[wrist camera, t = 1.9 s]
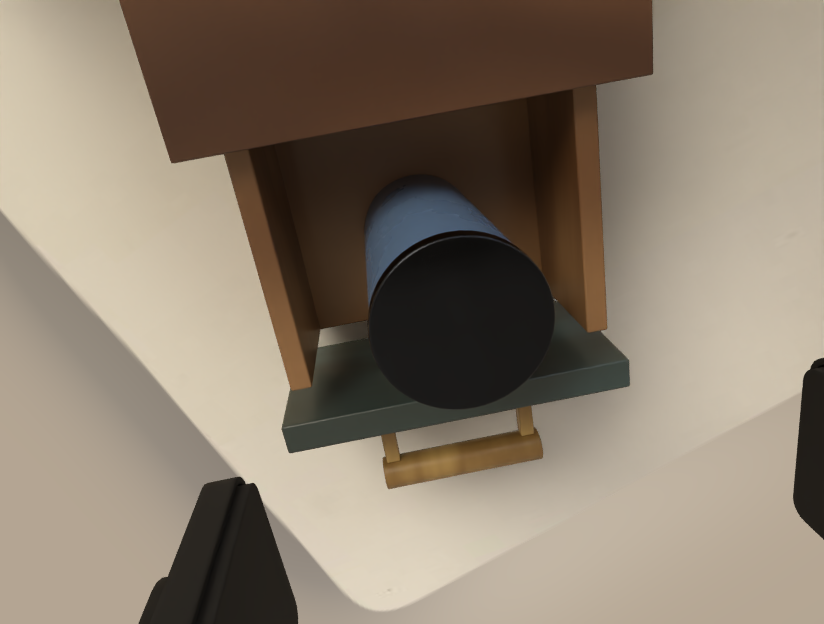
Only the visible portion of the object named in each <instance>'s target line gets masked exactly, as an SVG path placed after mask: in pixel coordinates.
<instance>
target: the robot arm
mask: <svg viewBox="0 0 824 624" xmlns="http://www.w3.org/2000/svg"><path fill="white" fill-rule="evenodd" d="M793 500H794V505H795V508H796V510H797V512H798V514H799V515H800V517H801V518H802V519H803V520H804V521H805V522H806V523H807V524H808V525H809V526H810V527H811V528H812V529H813V530H814V531H815V532H816V533H817V534H819V535H820V536H821V537H822V538H823V539H824V358H821V359H818V360H816V361H814V363H813V364H812V365H811V369H810V370H808V371H807V372H806V373H805V375H804V378H803V388H802V400H801V412H800V423H799V435H798V447H797V458H796V469H795V481H794V493H793ZM139 624H298V613H297V605H296V601H295V598H294V595H293V592H292V589H291V586H290V583H289V580H288V577H287V575H286V571H285V568H284V566H283V562H282V559H281V556H280V553H279V551H278V548H277V544H276V541H275V538H274V536H273V532H272V529H271V527H270V524H269V521H268V518H267V515H266V512H265V509H264V506H263V503H262V500H261V497H260V494H259V491H258V488H257V486H256V485H255V484H254V483H250V484H245V481H244V480H243V479H242V478H241V477H235V478H230V479H225V480H220V481H215V482H211V483H207V484H205V485H204V486H203V488H202V490H201V492H200V495H199V498H198V500H197V503H196V505H195V508H194V511H193V513H192V516H191V519H190V521H189V523H188V526H187V529H186V531H185V534H184V536H183V539H182V541H181V544H180V547H179V549H178V552H177V554H176V557H175V559H174V562H173V565H172V567H171V570H170V572H169V575H168V577H164V578H162V579H160V580H159V581H158V582H157V583H156V585H155V586H154V588H153V590H152V592H151V594H150V597H149V599H148V602H147V604H146V606H145V609H144V611H143V614H142V616H141V619H140V622H139Z"/></svg>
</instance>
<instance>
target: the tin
mask: <svg viewBox="0 0 824 624" xmlns="http://www.w3.org/2000/svg"><path fill="white" fill-rule="evenodd" d="M364 240H365V257H366V273H367V290H368V307H369V311H368V336H369V343H370V347H371V351H372V354H373V357H374V359H375V361H376V364H377V366H378V367H379V369H380V370H381V372H382V374H383V375H384V376H385V377H386V379H387V380H388V381H389V382H390V383H391V384H392V385H393V386H394V387H395V388H396V389H397V390H399V391H400V392H401V393H403V394H404V395H406V396H407V397H409V398H411V399H413V400H415V401H417V402H419V403H422V404H425V405H428V406H431V407H436V408H440V409H450V410H459V409H470V408H476V407H480V406H484V405H487V404H490V403H493V402H495V401H498V400H500V399H501V398H503V397H505V396H507V395H509V394H510V393H512V392H513V391H515V390H516V389H518V388H519V387H520V386H521V385H522V384H524V383H525V382H526V381H527V380H528V379H529V378H530V377H531V376H532V375H533V373H534V372H535V371H536V369H537V368H538V367H539V365H540V364H541V362H542V361H543V359H544V357H545V355H546V353H547V351H548V348H549V346H550V344H551V340H552V336H553V332H554V325H555V307H554V300H553V296H552V292H551V289H550V286H549V284H548V282H547V280H546V278H545V276H544V275H543V273H542V272H541V270H540V269H539V267H538V266H537V265H536V264H535V263H534V262H533V260H532V259H531V258H530V257H529V256H528V255H527V254H526V253H524V252H523V251H522V250H521V249H519V248H518V247H517V246H516V245H514V244H513V243H512V242H511V241H510V240H509V239H508V238H507V237H506V236H504V235H503V234H502V233H501V232H500V231H499V230H498V229H497V228H496V227H495V226H494V225H493V224H492V223H491V222H490V221H489V220H488V219H487V218H486V217H485V216H484V215H483V214H482V213H481V212H480V211H479V210H478V209H477V208H476V207H475V206H474V205H473V204H472V203H471V202H470V201H469V200H468V199H467V198H466V197H465V196H464V195H463V194H462V193H461V192H460V191H459V190H458V189H457V188H456V187H454V186H453V185H452V184H450V183H449V182H447V181H445V180H443V179H441V178H438V177H435V176H430V175H410V176H406V177H402V178H400V179H397V180H395V181H393V182H392V183H390V184H388V185H387V186H386V187H384V188H383V189H382V190H381V191H380V192H379V193H378V194H377V196H376V197H375V198H374V199H373V201H372V203H371V205H370V207H369V209H368V211H367V214H366V218H365V224H364Z"/></svg>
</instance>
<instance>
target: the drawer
mask: <svg viewBox="0 0 824 624" xmlns="http://www.w3.org/2000/svg"><path fill="white" fill-rule="evenodd" d="M224 156H225V160H226V163H227V167H228V170H229V174H230V177H231V181H232V184H233V188H234V191H235V195H236V198H237V202H238V205H239V209H240V212H241V216H242V219H243V223H244V226H245V230H246V233H247V237H248V240H249V244H250V247H251V251H252V254H253V258H254V261H255V265H256V268H257V272H258V275H259V279H260V282H261V286H262V289H263V293H264V296H265V300H266V303H267V307H268V310H269V314H270V317H271V321H272V324H273V328H274V332H275V335H276V339H277V342H278V346H279V349H280V353H281V356H282V360H283V363H284V367H285V370H286V374H287V377H288V381H289V384H290V392H289V397H288V401H287V406H286V411H285V415H284V420H283V424H282V432H283V435H284V439H285V442H286V445H287V449H288V452H289V453H295V452H300V451H305V450H310V449H315V448H320V447H325V446H330V445H335V444H340V443H345V442H350V441H355V440H360V439H365V438H370V437H375V436H380V435H381V437H382V442H383V446H384V451H385V455H386V457H383V468H384V474H385V479H386V484H387V487H388V489H392V488H397V487H402V486H407V485H412V484H417V483H422V482H427V481H432V480H437V479H442V478H447V477H452V476H457V475H462V474H467V473H472V472H477V471H482V470H487V469H492V468H497V467H502V466H507V465H512V464H517V463H522V462H527V461H532V460H537V459H542V458H543V448H542V443H541V439H540V436H539V433H538V431H537V429H536V428H535V427H533V417H532V408H531V406H532V405H537V404H542V403H547V402H552V401H557V400H562V399H567V398H572V397H577V396H583V395H588V394H593V393H598V392H603V391H608V390H613V389H618V388H623V387H628V386H629V385H630V376H629V360H628V358H627V357H626V356H625V355H624V354H623V353H622V352H621V351H619V350H618V349H617V348H616V347H615V346H614V345H613V344H612V343H611V342H610V341H609V340H608V339H607V338H606V337H605V336H604V335H603V334H602V333H601V332H600V331H601V330H606V329H607V311H606V289H605V268H604V246H603V224H602V202H601V181H600V159H599V137H598V115H597V94H596V85H593V86H588V87H583V88H577V89H572V90H566V91H561V92H556V93H550V94H545V95H539V96H534V97H529V98H523V99H518V100H512V101H507V102H502V103H496V104H491V105H485V106H480V107H475V108H469V109H464V110H458V111H453V112H448V113H442V114H437V115H431V116H426V117H421V118H415V119H410V120H404V121H399V122H394V123H388V124H383V125H378V126H372V127H367V128H361V129H356V130H351V131H345V132H340V133H334V134H329V135H324V136H318V137H313V138H307V139H302V140H297V141H291V142H286V143H280V144H275V145H270V146H264V147H259V148H253V149H248V150H243V151H237V152H232V153H226V154H224ZM410 175H430V176H435V177H438V178H441V179H443V180H445V181H447V182H449V183H450V184H452V185H453V186H454V187H456V188H457V189H458V190H459V191H460V192H461V193H462V194H463V195H464V196H465V197H466V198H467V199H468V200H469V201H470V202H471V203H472V204H473V205H474V206H475V207H476V208H477V209H478V210H479V211H480V212H481V213H482V214H483V215H484V216H485V217H486V218H487V219H488V220H489V221H490V222H491V223H492V224H493V225H494V226H495V227H496V228H497V229H498V230H499V231H500V232H501V233H502V234H503V235H504V236H506V237H507V238H508V239H509V240H510V241H511V242H512V243H513V244H514V245H516V246H517V247H518V248H519V249H521V250H522V251H523V252H524V253H526V254H527V255H528V256H529V257H530V258H531V259H532V260H533V262H534V263H535V264H536V265H537V266H538V267H539V269H540V270H541V272H542V273H543V275H544V276H545V278H546V280H547V282H548V284H549V286H550V289H551V292H552V296H553V297H554V298H555V299H556V300H557V302H554V307H555V325H554V332H553V336H552V340H551V344H550V346H549V348H548V351H547V353H546V355H545V357H544V359H543V361H542V362H541V364H540V365H539V367H538V368H537V369H536V371H535V372H534V373H533V375H532V376H531V377H530V378H529V379H528V380H527V381H526V382H525V383H524V384H522V385H521V386H520V387H519V388H518V389H516V390H515V391H513V392H512V393H510V394H509V395H507V396H505V397H503V398H501V399H500V400H498V401H495V402H493V403H490V404H487V405H484V406H480V407H476V408H470V409H459V410H450V409H440V408H436V407H431V406H428V405H425V404H422V403H419V402H417V401H415V400H413V399H411V398H409V397H407V396H406V395H404V394H403V393H401V392H400V391H399V390H397V389H396V388H395V387H394V386H393V385H392V384H391V383H390V382H389V381H388V380H387V379H386V377H385V376H384V375H383V374H382V372H381V370H380V369H379V367H378V366H377V364H376V361H375V359H374V357H373V354H372V351H371V347H370V343H369V338H366V339H361V340H356V341H350V342H345V343H340V344H335V345H330V346H325V347H320V348H318V342H319V335H320V329H324V328H329V327H335V326H340V325H345V324H350V323H355V322H360V321H366V320H368V311H369V307H368V290H367V273H366V257H365V240H364V224H365V218H366V214H367V211H368V209H369V207H370V205H371V203H372V201H373V199H374V198H375V197H376V196H377V194H378V193H379V192H380V191H381V190H382V189H383V188H384V187H386V186H387V185H388V184H390V183H392V182H393V181H395V180H397V179H400V178H402V177H406V176H410ZM512 409H516V416H517V424H518V431H512V432H507V433H502V434H497V435H492V436H487V437H482V438H477V439H472V440H467V441H462V442H457V443H452V444H447V445H442V446H437V447H432V448H427V449H422V450H417V451H412V452H407V453H402V454H400V452H399V447H398V442H397V438H396V432H401V431H406V430H411V429H416V428H421V427H426V426H431V425H436V424H441V423H446V422H451V421H456V420H461V419H466V418H471V417H476V416H481V415H487V414H492V413H497V412H502V411H507V410H512Z"/></svg>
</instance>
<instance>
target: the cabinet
mask: <svg viewBox="0 0 824 624" xmlns="http://www.w3.org/2000/svg"><path fill="white" fill-rule="evenodd" d="M119 1H120V5H121V8H122V11H123V14H124V17H125V20H126V23H127V26H128V30H129V33H130V36H131V39H132V42H133V45H134V48H135V51H136V55H137V58H138V61H139V64H140V67H141V70H142V73H143V76H144V80H145V83H146V86H147V89H148V92H149V95H150V98H151V101H152V104H153V108H154V111H155V114H156V117H157V120H158V123H159V126H160V129H161V133H162V136H163V139H164V142H165V145H166V148H167V151H168V154H169V158H170V161H171V163H178V162H183V161H189V160H194V159H199V158H205V157H210V156H216V155H221V154H226V153H232V152H237V151H243V150H248V149H253V148H259V147H264V146H270V145H275V144H280V143H286V142H291V141H297V140H302V139H307V138H313V137H318V136H324V135H329V134H334V133H340V132H345V131H351V130H356V129H361V128H367V127H372V126H378V125H383V124H388V123H394V122H399V121H404V120H410V119H415V118H421V117H426V116H431V115H437V114H442V113H448V112H453V111H458V110H464V109H469V108H475V107H480V106H485V105H491V104H496V103H502V102H507V101H512V100H518V99H523V98H529V97H534V96H539V95H545V94H550V93H556V92H561V91H566V90H572V89H577V88H583V87H588V86H593V85H599V84H604V83H609V82H615V81H620V80H626V79H631V78H636V77H642V76H647V75H652V74H653V27H652V0H119Z"/></svg>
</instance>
